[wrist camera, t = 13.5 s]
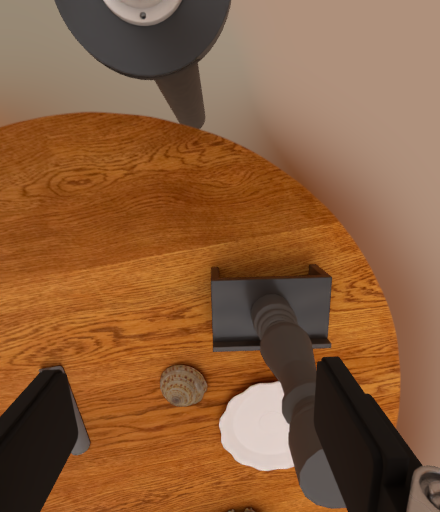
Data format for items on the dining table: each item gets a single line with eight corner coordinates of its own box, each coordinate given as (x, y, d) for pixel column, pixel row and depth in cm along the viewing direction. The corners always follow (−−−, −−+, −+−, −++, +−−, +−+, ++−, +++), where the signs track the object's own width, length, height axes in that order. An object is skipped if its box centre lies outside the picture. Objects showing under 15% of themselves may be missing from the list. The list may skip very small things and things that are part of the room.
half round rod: (71, 448, 58) (67, 456, 56) (39, 366, 53) (33, 372, 51) (91, 445, 58) (88, 453, 56) (61, 362, 53) (56, 368, 51)
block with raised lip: (211, 267, 49) (210, 284, 40) (316, 264, 49) (336, 280, 41) (213, 325, 51) (213, 352, 43) (312, 322, 52) (331, 348, 43)
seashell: (210, 407, 53) (168, 422, 50) (200, 388, 58) (161, 401, 55) (208, 369, 51) (164, 382, 48) (197, 352, 56) (157, 364, 53)
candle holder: (247, 328, 44) (286, 507, 20) (254, 291, 42) (306, 435, 18) (286, 333, 44) (372, 515, 20) (295, 296, 43) (399, 444, 19)
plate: (203, 444, 58) (203, 451, 56) (246, 361, 53) (247, 367, 52) (294, 474, 60) (296, 482, 59) (342, 397, 56) (346, 404, 54)
